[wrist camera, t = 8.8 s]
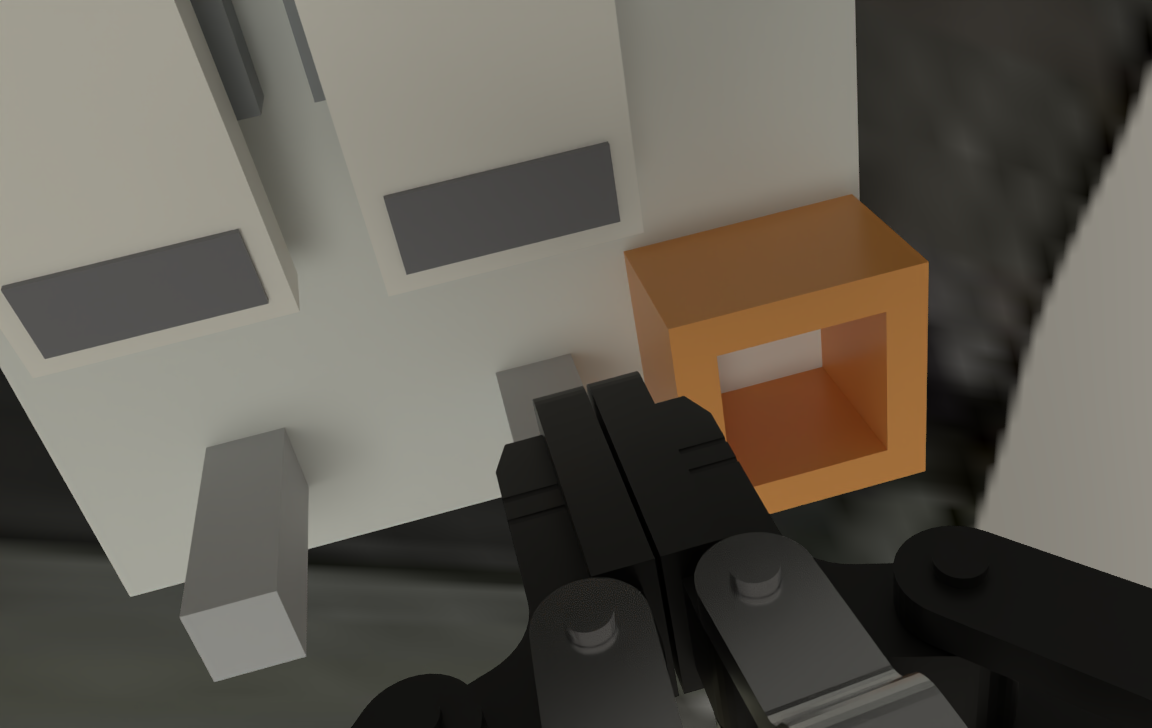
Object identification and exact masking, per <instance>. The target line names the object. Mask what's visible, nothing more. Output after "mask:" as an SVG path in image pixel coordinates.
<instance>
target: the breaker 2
mask: <svg viewBox="0 0 1152 728" xmlns="http://www.w3.org/2000/svg"><path fill="white" fill-rule="evenodd" d="M294 1H295V4H296V7H297V10H298V14H299V17H300V20H301V23H302V26H303V29H304V32H305V36H306V39H307V42H308V45H309V48H310V51H311V54H312V58H313V61H314V64H315V67H316V70H317V73H318V76H319V80H320V83H321V86H322V89H323V92H324V95H325V98H326V102H327V105H328V108H329V111H330V114H331V117H332V120H333V124H334V127H335V130H336V133H337V136H338V139H339V142H340V146H341V149H342V152H343V155H344V158H345V161H346V164H347V168H348V171H349V174H350V177H351V180H352V183H353V186H354V190H355V193H356V196H357V199H358V202H359V205H360V208H361V212H362V215H363V218H364V221H365V224H366V227H367V230H368V234H369V237H370V240H371V243H372V246H373V249H374V252H375V256H376V259H377V262H378V265H379V268H380V271H381V274H382V278H383V281H384V284H385V287H386V290H387V293H388V296H393V295H397V294H401V293H405V292H409V291H413V290H417V289H421V288H425V287H429V286H433V285H437V284H441V283H445V282H449V281H453V280H457V279H461V278H465V277H469V276H473V275H477V274H481V273H485V272H489V271H493V270H497V269H501V268H505V267H509V266H513V265H517V264H521V263H525V262H529V261H533V260H537V259H541V258H545V257H549V256H553V255H557V254H560V253H564V252H568V251H572V250H576V249H580V248H584V247H588V246H592V245H596V244H600V243H604V242H608V241H612V240H616V239H620V238H624V237H628V236H632V235H636V234H640V233H644V229H643V221H642V213H641V205H640V197H639V190H638V182H637V174H636V166H635V158H634V150H633V142H632V134H631V126H630V119H629V111H628V103H627V95H626V87H625V79H624V71H623V63H622V55H621V47H620V40H619V32H618V24H617V16H616V8H615V0H294Z"/></svg>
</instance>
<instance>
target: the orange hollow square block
mask: <svg viewBox="0 0 1152 728" xmlns="http://www.w3.org/2000/svg"><path fill="white" fill-rule="evenodd" d="M624 258H625V264H626V271H627V277H628V283H629V289H630V295H631V301H632V307H633V314H634V320H635V326H636V332H637V338H638V344H639V351H640V357H641V363H642V369H643V375H644V381H645V385H646V387H647V389H648V391H649V393H650V395H651V397H652V399H653V401H654V403H655V404H656V403H659V402H663V401H667V400H670V399H674V398H678V397H681V396H685V397H687V398H688V399H690V400H692V401H693V402H695V403H696V404H698V405H699V406H701V407H702V408H704V409H706V410H707V411H709V412H710V413H711V414H712V416H713V417H714V419H715V421H716V423H717V424H718V426H719V428H720V430H721V431H722V433H723V435H724V436H725V440H726V442H728V443H729V445H730V447H731V449H732V450H733V452H734V454H735V456H736V459H737V462H738V461H739V462H740V464H741V466H742V468H743V469H744V471H745V473H746V475H747V476H748V478H749V480H750V482H751V483H752V485H753V487H754V488H755V490H756V492H757V494H758V495H759V497H760V499H761V501H762V502H763V504H764V506H765V508H766V509H767V511H768V513H769V514H771V513H775V512H779V511H782V510H786V509H789V508H793V507H797V506H800V505H804V504H807V503H811V502H815V501H818V500H822V499H826V498H829V497H833V496H836V495H840V494H844V493H847V492H851V491H855V490H858V489H862V488H865V487H869V486H873V485H876V484H880V483H883V482H887V481H891V480H894V479H898V478H902V477H905V476H909V475H912V474H916V473H920V472H923V471H925V458H926V398H927V338H928V278H929V262H928V261H927V260H926V259H925V258H924V257H923V256H921V255H920V254H919V253H918V252H917V251H916V250H915V249H914V248H912V247H911V246H910V245H909V244H908V243H907V242H906V241H905V240H903V239H902V238H901V237H900V236H899V235H898V234H897V233H895V232H894V231H893V230H892V229H891V228H890V227H889V226H888V225H886V224H885V223H884V222H883V221H882V220H881V219H880V218H879V217H877V216H876V215H875V214H874V213H873V212H872V211H871V210H869V209H868V208H867V207H866V206H865V205H864V204H863V203H862V202H860V201H859V200H858V199H857V198H856V197H855V196H854V195H853V194H850V195H846V196H842V197H838V198H834V199H830V200H826V201H822V202H818V203H814V204H810V205H806V206H802V207H798V208H794V209H790V210H786V211H782V212H778V213H775V214H771V215H767V216H763V217H759V218H755V219H751V220H747V221H743V222H739V223H735V224H731V225H727V226H723V227H719V228H715V229H711V230H707V231H703V232H699V233H695V234H691V235H687V236H683V237H679V238H675V239H671V240H667V241H663V242H659V243H655V244H651V245H647V246H643V247H639V248H636V249H632V250H628V251H624ZM819 329H821V347H822V367H820V368H816V369H812V370H809V371H805V372H801V373H797V374H793V375H790V376H786V377H782V378H778V379H775V380H771V381H767V382H763V383H760V384H756V385H752V386H748V387H744V388H741V389H737V390H733V391H729V392H726V393H722V394H721V388H720V380H719V371H718V362H717V356H719V355H723V354H727V353H731V352H735V351H739V350H742V349H746V348H750V347H754V346H758V345H761V344H765V343H769V342H773V341H777V340H780V339H784V338H788V337H792V336H796V335H800V334H803V333H807V332H811V331H815V330H819Z"/></svg>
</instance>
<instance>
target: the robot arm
mask: <svg viewBox="0 0 1152 728" xmlns="http://www.w3.org/2000/svg"><path fill="white" fill-rule="evenodd" d="M586 387H587V393H586V390H585V388H584V387H583V386H580V387H576V388H572V389H569V390H565V391H561V392H558V393H554V394H550V395H546V396H543V397H539V398H535V399H532V401H533V407H534V411H535V415H536V420H537V424H538V428H539V432H540V435H539V436H535V437H531V438H528V439H524V440H520V441H517V442H513V443H509V444H506V445H505V446H504V449H503V452H502V455H501V458H500V461H499V464H498V466H497V469H496V476H497V480H498V484H499V488H500V492H501V496H502V500H503V504H504V508H505V512H506V516H507V520H508V524H509V528H510V532H511V536H512V540H513V544H514V548H515V552H516V556H517V560H518V564H519V568H520V572H521V576H522V580H523V584H524V588H525V592H526V596H527V600H528V605H529V622H528V626H527V630H526V632H525V634H524V636H523V638H522V640H521V642H520V643H519V645H518V646H517V648H516V649H515V650H514V651H513V652H512V654H511V655H510V656H509V657H508V658H507V659H505V660H504V661H503V662H502V663H501V664H500V665H498V666H497V667H495V668H494V669H492V670H491V671H489V672H488V673H486V674H484V675H483V676H481V677H479V678H478V679H476V680H475V681H473V682H471V683H470V684H468V685H467V684H465V683H464V682H462V681H461V680H459V679H457V678H454V677H452V676H447V675H442V674H424V675H418V676H414V677H410V678H407V679H404V680H402V681H399V682H397V683H395V684H393V685H392V686H390V687H388V688H387V689H385V690H384V691H382V692H381V693H380V694H378V695H377V696H376V697H375V698H374V699H373V700H372V701H371V702H370V703H369V704H368V705H367V707H366V708H365V709H364V710H363V712H362V713H361V715H360V716H359V717H358V719H357V720H356V722H355V723H354V724H353V726H352V727H351V728H683V725H682V722H681V718H680V714H679V711H678V707H677V703H676V700H675V697H677V696H679V693H678V687H677V681H676V676H675V671H676V674H677V676H678V679H679V682H680V684H681V687H682V689H683V692H684V694H685V693H689V692H692V691H696V690H699V689H702V688H704V689H705V691H706V694H707V696H708V698H709V701H710V703H711V706H712V708H713V711H714V715H715V722H716V728H1152V589H1151V588H1149V587H1146V586H1143V585H1140V584H1137V583H1134V582H1131V581H1128V580H1125V579H1123V578H1120V577H1117V576H1114V575H1111V574H1108V573H1105V572H1102V571H1099V570H1096V569H1094V568H1091V567H1088V566H1085V565H1082V564H1079V563H1076V562H1073V561H1070V560H1067V559H1064V558H1062V557H1058V556H1056V555H1053V554H1050V553H1047V552H1044V551H1041V550H1038V549H1036V548H1032V547H1030V546H1027V545H1024V544H1021V543H1018V542H1015V541H1012V540H1009V539H1007V538H1004V537H1001V536H998V535H995V534H992V533H989V532H986V531H983V530H979V529H976V528H971V527H964V526H941V527H936V528H931V529H928V530H925V531H922V532H920V533H918V534H916V535H914V536H912V537H911V538H909V539H908V540H907V541H905V542H904V544H903V545H902V546H901V547H900V548H899V550H898V552H897V554H896V556H895V559H894V563H888V564H838V563H831V562H827V561H823V560H819V559H816V558H814V557H812V556H811V555H810V554H809V552H808V551H807V550H806V549H805V548H804V547H802V546H801V545H800V544H798V543H797V542H795V541H793V540H791V539H789V538H786V537H784V536H782V534H781V533H780V532H779V530H778V528H777V527H776V525H775V523H774V521H773V520H772V518H771V516H770V514H769V513H768V511H767V509H766V508H765V506H764V504H763V502H762V501H761V499H760V497H759V495H758V494H757V492H756V490H755V488H754V487H753V485H752V483H751V482H750V480H749V478H748V476H747V475H746V473H745V471H744V469H743V468H742V466H741V464H740V462H739V461H738V462H737V459H736V456H735V454H734V452H733V450H732V449H731V447H730V445H729V443H728V442H726V440H725V436H724V435H723V433H722V431H721V430H720V428H719V426H718V424H717V423H716V421H715V419H714V417H713V416H712V414H711V413H710V412H709V411H707V410H706V409H704V408H702V407H701V406H699V405H698V404H696V403H695V402H693V401H692V400H690V399H688V398H687V397H685V396H681V397H678V398H674V399H670V400H667V401H663V402H659V403H656V404H655V403H654V401H653V399H652V397H651V395H650V393H649V391H648V389H647V387H646V385H645V383H644V381H643V379H642V377H641V375H640V373H639V372H638V371H635V372H631V373H627V374H624V375H620V376H616V377H613V378H609V379H605V380H601V381H598V382H594V383H590V384H587V386H586ZM674 669H675V670H674Z"/></svg>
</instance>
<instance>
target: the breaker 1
mask: <svg viewBox="0 0 1152 728" xmlns="http://www.w3.org/2000/svg"><path fill="white" fill-rule="evenodd" d="M297 312H300V307H299V289H298V274H297V271H296V269H295V266H294V263H293V261H292V258H291V256H290V253H289V251H288V248H287V246H286V243H285V241H284V238H283V235H282V233H281V230H280V228H279V225H278V223H277V220H276V218H275V215H274V213H273V210H272V207H271V205H270V202H269V200H268V197H267V195H266V192H265V190H264V187H263V185H262V182H261V180H260V177H259V174H258V172H257V169H256V167H255V164H254V162H253V159H252V157H251V154H250V152H249V149H248V146H247V144H246V141H245V139H244V136H243V134H242V131H241V129H240V126H239V124H238V121H237V118H236V116H235V113H234V111H233V108H232V106H231V103H230V101H229V98H228V96H227V93H226V91H225V88H224V85H223V83H222V80H221V78H220V75H219V73H218V70H217V68H216V65H215V63H214V60H213V57H212V55H211V52H210V50H209V47H208V45H207V42H206V40H205V37H204V35H203V32H202V29H201V27H200V24H199V22H198V19H197V17H196V14H195V12H194V9H193V7H192V4H191V2H190V0H0V329H1V331H2V332H3V334H4V335H5V337H6V338H7V340H8V341H9V343H10V344H11V346H12V347H13V349H14V350H15V352H16V353H17V355H18V356H19V358H20V359H21V361H22V362H23V364H24V365H25V367H26V369H27V370H28V372H29V373H30V375H31V376H32V378H37V377H41V376H45V375H49V374H53V373H57V372H61V371H65V370H69V369H73V368H77V367H81V366H85V365H89V364H93V363H97V362H101V361H105V360H109V359H113V358H117V357H121V356H125V355H129V354H133V353H137V352H141V351H145V350H149V349H153V348H157V347H161V346H165V345H169V344H173V343H177V342H181V341H185V340H189V339H193V338H197V337H201V336H205V335H209V334H213V333H217V332H221V331H225V330H229V329H233V328H237V327H241V326H245V325H249V324H253V323H257V322H261V321H265V320H269V319H273V318H277V317H281V316H285V315H289V314H293V313H297Z"/></svg>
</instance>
